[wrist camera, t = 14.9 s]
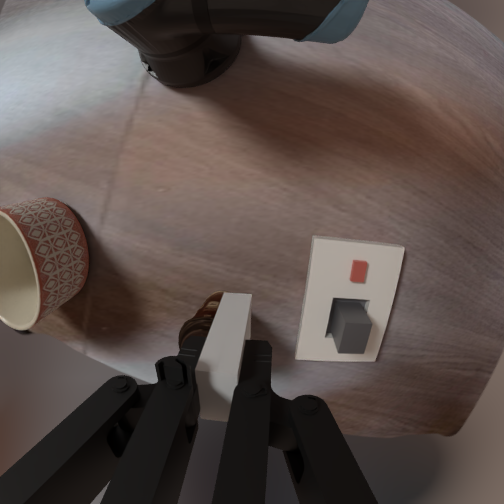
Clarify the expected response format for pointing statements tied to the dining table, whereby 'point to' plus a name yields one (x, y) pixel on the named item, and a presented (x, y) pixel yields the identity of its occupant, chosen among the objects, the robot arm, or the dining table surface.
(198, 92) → the dining table surface
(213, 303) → the coffee cup
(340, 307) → the plug
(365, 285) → the faceplate
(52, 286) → the planter
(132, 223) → the dining table surface
